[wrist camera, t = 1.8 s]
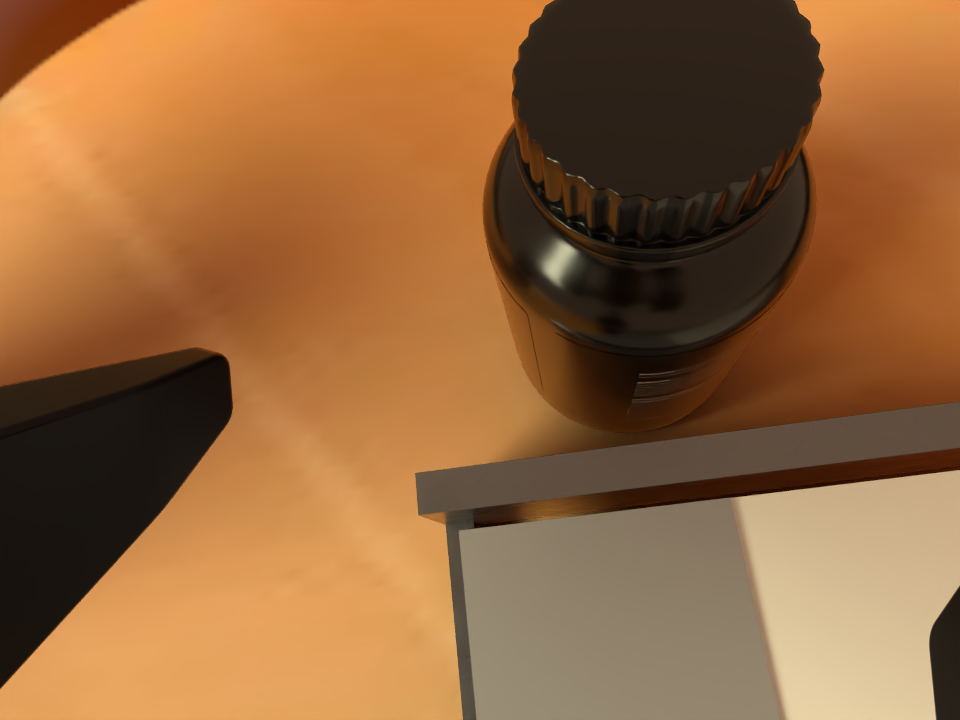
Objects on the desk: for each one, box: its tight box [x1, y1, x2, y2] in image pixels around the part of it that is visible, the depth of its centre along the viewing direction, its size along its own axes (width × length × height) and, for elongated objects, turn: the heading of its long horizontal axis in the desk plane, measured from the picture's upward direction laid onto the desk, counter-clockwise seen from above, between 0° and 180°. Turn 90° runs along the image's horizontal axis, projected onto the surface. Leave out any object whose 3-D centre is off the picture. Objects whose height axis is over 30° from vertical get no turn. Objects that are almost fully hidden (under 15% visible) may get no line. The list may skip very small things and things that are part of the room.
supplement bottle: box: [483, 0, 824, 433], centre depth 16 cm, size 7×7×12 cm
